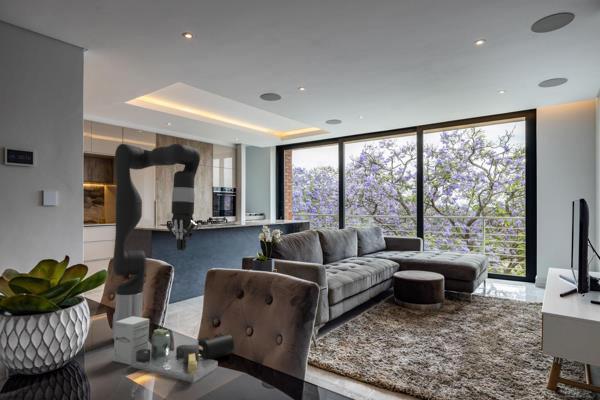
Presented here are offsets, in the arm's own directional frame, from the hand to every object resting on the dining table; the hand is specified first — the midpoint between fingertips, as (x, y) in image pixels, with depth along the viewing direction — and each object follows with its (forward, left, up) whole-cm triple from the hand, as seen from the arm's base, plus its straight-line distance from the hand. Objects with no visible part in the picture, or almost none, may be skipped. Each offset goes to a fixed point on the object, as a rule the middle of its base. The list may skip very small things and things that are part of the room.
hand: (181, 250), depth 118 cm
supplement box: (-9, -11, -35) cm, 38 cm away
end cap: (+15, +2, -35) cm, 38 cm away
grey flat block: (+8, -10, -35) cm, 37 cm away
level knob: (+16, -11, -33) cm, 38 cm away
